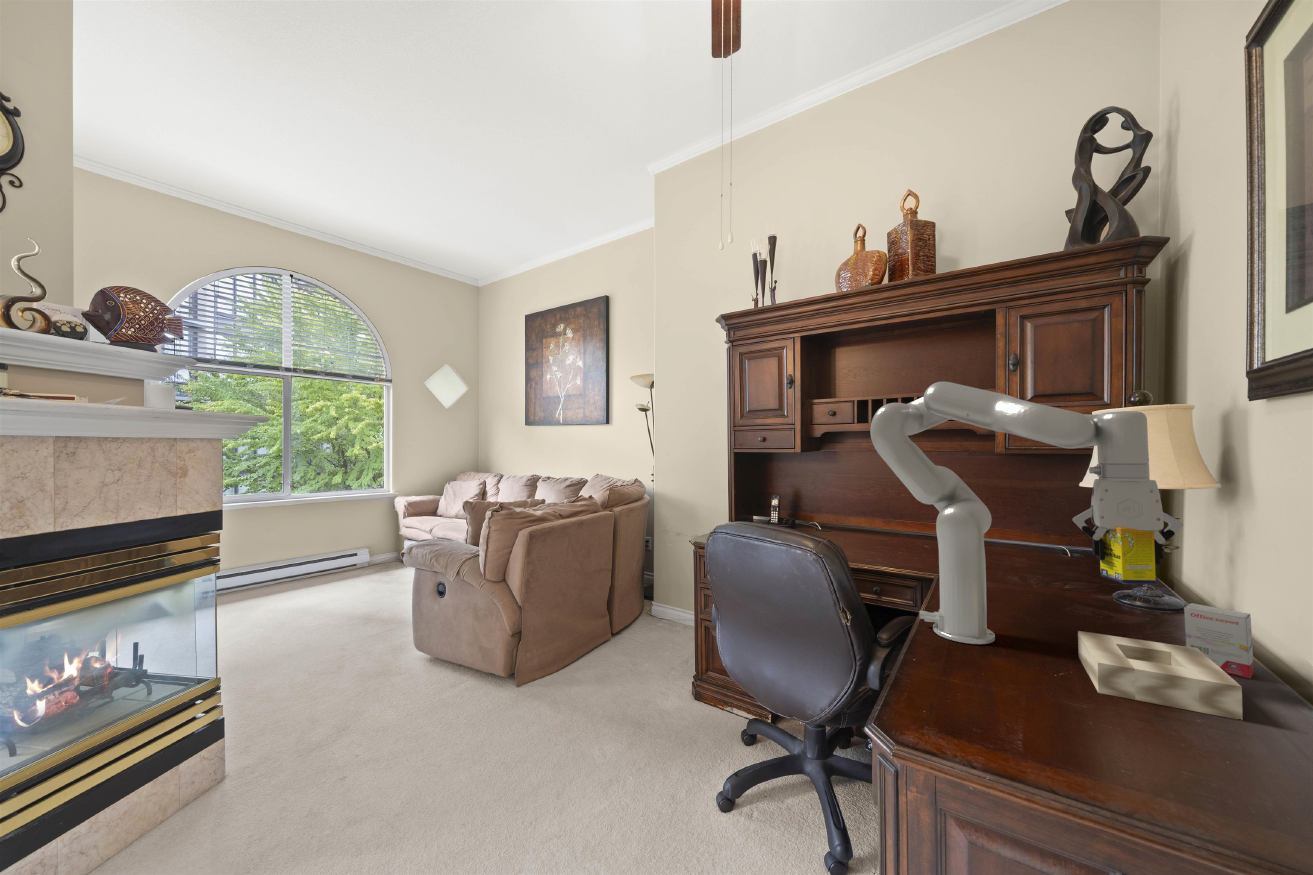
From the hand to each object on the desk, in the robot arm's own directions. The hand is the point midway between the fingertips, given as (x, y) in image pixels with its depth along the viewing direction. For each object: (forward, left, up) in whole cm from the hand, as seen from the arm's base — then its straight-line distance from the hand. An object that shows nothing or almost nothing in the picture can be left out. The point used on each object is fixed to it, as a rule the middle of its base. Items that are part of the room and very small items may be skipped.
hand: (1126, 560), depth 100 cm
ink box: (+16, +11, -22) cm, 29 cm away
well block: (+2, -5, -22) cm, 23 cm away
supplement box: (0, 0, -4) cm, 4 cm away
